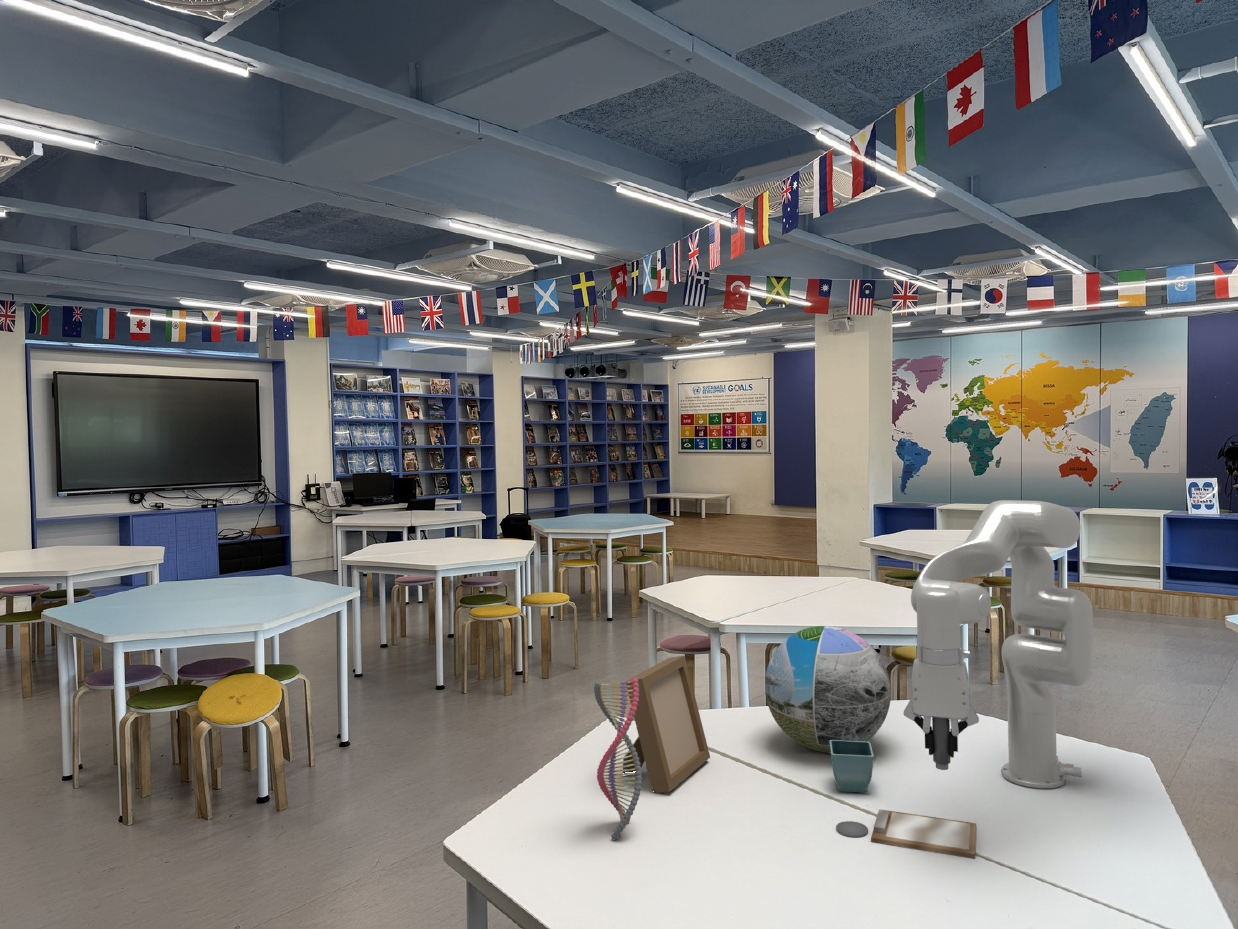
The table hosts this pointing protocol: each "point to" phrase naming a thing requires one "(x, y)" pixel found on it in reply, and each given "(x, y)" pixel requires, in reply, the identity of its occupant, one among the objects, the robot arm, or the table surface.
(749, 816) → the table surface
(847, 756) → the flower pot
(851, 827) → the dark grey disc
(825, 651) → the photo collage ball
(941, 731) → the marker
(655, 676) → the photo frame
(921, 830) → the clipboard
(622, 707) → the dna model
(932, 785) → the table surface
